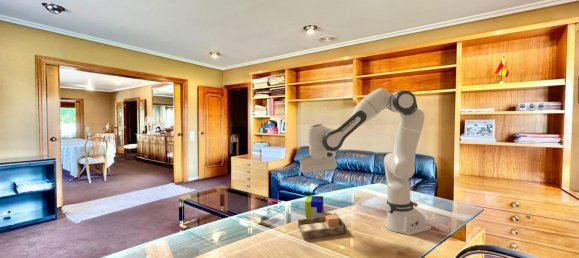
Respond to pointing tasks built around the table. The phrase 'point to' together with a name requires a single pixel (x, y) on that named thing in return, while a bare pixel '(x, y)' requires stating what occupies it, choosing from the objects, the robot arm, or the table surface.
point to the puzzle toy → (314, 206)
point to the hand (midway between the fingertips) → (319, 178)
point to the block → (332, 220)
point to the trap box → (319, 228)
